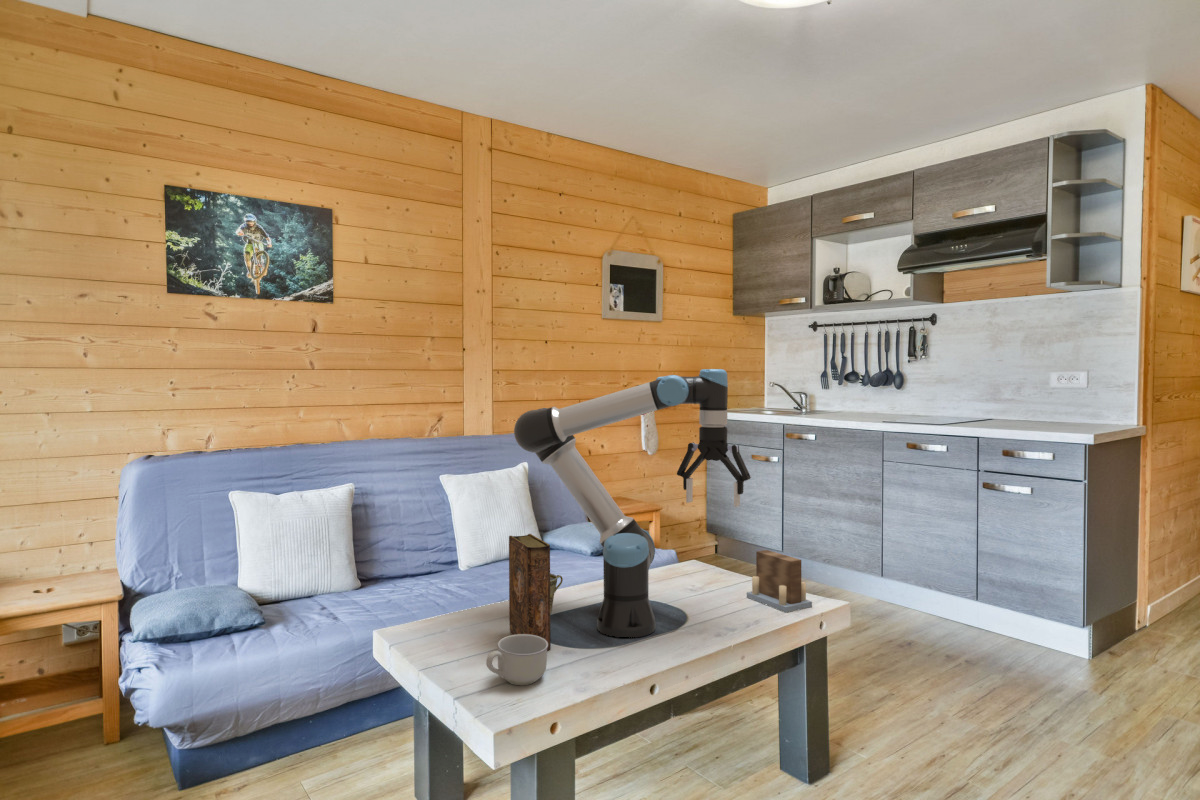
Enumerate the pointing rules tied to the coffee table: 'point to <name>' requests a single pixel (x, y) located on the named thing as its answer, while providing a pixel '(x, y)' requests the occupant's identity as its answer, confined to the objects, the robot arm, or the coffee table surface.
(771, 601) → the cradle
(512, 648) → the teacup
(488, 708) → the coffee table surface
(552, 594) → the ceramic cup
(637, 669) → the coffee table surface
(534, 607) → the book
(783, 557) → the board
